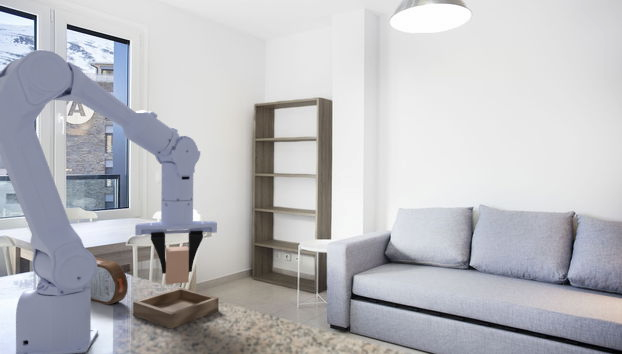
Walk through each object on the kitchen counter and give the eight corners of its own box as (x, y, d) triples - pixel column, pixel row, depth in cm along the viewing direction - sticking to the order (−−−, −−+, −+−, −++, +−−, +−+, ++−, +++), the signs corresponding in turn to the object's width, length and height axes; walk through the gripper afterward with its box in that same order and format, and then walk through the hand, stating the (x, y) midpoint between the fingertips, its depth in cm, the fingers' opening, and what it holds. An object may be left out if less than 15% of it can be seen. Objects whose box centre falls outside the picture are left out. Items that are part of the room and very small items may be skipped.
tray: (171, 328, 72) (171, 314, 72) (133, 315, 79) (133, 301, 78) (218, 310, 82) (218, 297, 82) (180, 299, 88) (181, 287, 88)
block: (165, 284, 77) (166, 251, 77) (165, 278, 81) (165, 247, 81) (188, 282, 78) (188, 250, 78) (187, 276, 82) (187, 246, 82)
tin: (129, 304, 84) (129, 262, 84) (115, 309, 82) (115, 266, 81) (83, 292, 92) (83, 253, 91) (69, 296, 89) (69, 256, 89)
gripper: (134, 202, 73) (134, 279, 74) (219, 201, 78) (218, 274, 78) (136, 198, 80) (136, 269, 80) (214, 198, 85) (214, 265, 85)
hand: (177, 271), depth 80 cm, fingers closed on block, 4 cm apart
